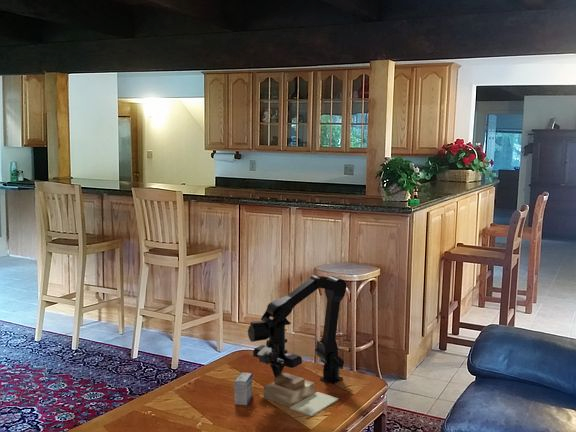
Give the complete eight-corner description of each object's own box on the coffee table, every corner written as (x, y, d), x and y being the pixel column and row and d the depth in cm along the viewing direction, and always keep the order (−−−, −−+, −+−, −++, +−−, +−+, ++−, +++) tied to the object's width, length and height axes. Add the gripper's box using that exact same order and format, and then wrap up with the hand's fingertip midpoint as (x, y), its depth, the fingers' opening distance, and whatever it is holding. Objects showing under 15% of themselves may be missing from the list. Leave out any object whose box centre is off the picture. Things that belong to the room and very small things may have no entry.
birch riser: (288, 384, 224) (288, 374, 223) (314, 393, 216) (314, 382, 216) (263, 397, 213) (263, 386, 212) (290, 407, 206) (290, 395, 205)
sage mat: (317, 393, 217) (317, 391, 217) (338, 399, 211) (338, 398, 211) (290, 408, 204) (290, 407, 204) (311, 416, 199) (311, 414, 199)
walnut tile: (274, 384, 214) (274, 377, 214) (284, 379, 219) (284, 372, 219) (294, 390, 209) (294, 384, 209) (304, 385, 214) (304, 378, 213)
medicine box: (246, 405, 206) (246, 381, 205) (234, 404, 207) (234, 380, 206) (252, 396, 214) (252, 372, 213) (240, 395, 215) (240, 371, 214)
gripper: (242, 337, 215) (242, 379, 217) (283, 349, 203) (283, 393, 205) (263, 329, 224) (263, 369, 226) (303, 340, 212) (302, 382, 214)
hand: (277, 378), depth 217 cm, fingers closed
